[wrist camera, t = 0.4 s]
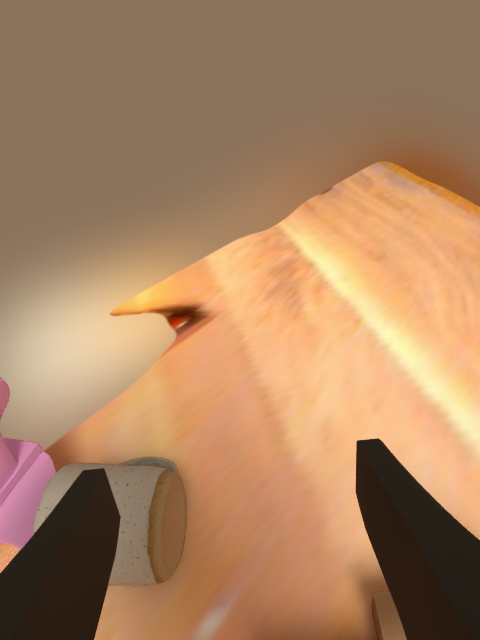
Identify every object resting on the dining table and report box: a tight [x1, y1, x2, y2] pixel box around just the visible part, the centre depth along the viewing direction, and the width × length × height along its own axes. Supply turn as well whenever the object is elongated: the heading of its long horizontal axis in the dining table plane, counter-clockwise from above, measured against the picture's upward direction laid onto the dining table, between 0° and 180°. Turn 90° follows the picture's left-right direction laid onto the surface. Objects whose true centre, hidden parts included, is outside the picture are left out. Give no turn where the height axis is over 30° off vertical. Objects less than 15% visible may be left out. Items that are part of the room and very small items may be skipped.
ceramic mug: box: [32, 457, 186, 586], centre depth 31 cm, size 11×8×8 cm
